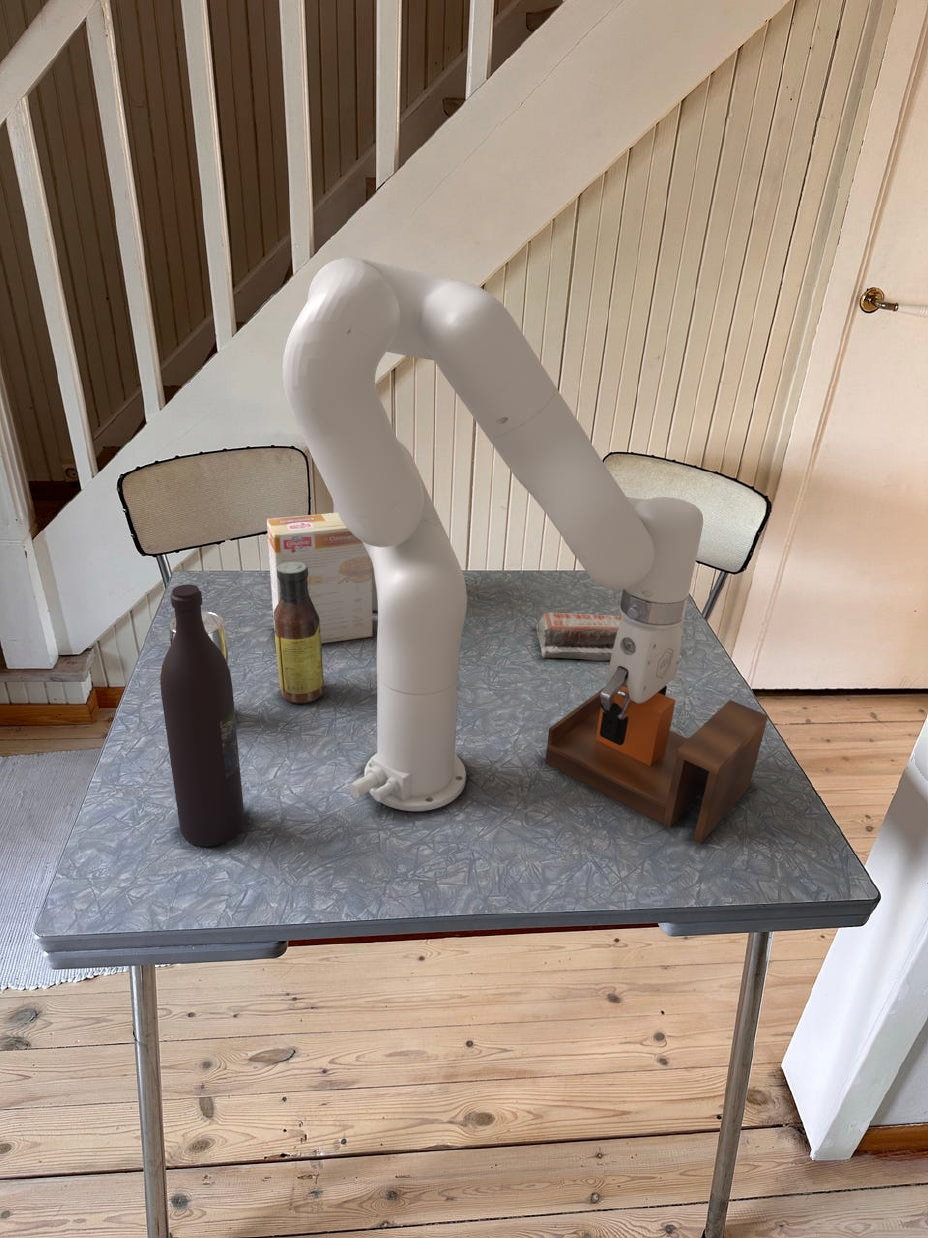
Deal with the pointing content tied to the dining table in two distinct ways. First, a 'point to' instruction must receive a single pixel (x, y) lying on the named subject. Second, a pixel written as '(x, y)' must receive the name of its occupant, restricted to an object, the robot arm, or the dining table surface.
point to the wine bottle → (201, 728)
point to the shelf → (665, 764)
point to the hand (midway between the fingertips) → (631, 723)
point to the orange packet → (644, 728)
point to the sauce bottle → (297, 636)
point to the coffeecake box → (326, 571)
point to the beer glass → (209, 630)
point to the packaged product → (577, 635)
